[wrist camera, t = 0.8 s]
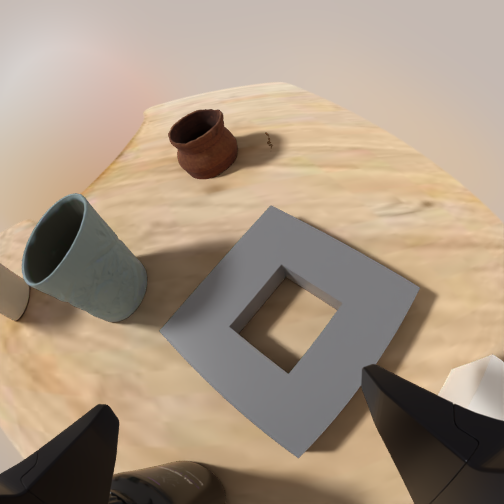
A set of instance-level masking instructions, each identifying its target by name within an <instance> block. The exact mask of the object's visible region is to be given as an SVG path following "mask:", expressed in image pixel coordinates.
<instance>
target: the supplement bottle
mask: <svg viewBox="0 0 504 504" xmlns="http://www.w3.org/2000/svg"><path fill="white" fill-rule="evenodd" d="M225 502H226V495H225V490H224V488H223V485H222V484H221V482H220V480H219V479H218V478H217V477H216V476H215V475H214V474H213V473H212V472H211V471H210V470H208V469H207V468H205V467H204V466H202V465H199V464H197V463H194V462H189V461H176V462H171V463H167V464H163V465H158V466H154V467H149V468H145V469H139V470H134V471H128V472H122V473H118V474H114V475H113V478H112V484H111V491H110V497H109V504H225Z"/></svg>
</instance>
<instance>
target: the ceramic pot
mask: <svg viewBox="0 0 504 504" xmlns="http://www.w3.org/2000/svg"><path fill="white" fill-rule="evenodd" d="M265 134H266V135H268V134H267V133H265ZM268 136H269V135H268ZM168 137H169V140H170V142H171V144H172V145H173V146H175V147H176V148H177V149H178V152H177V157H178V161H179V164H180V165H181V167H182V168H183V169H184V170H186V171H187V172H188V173H189V174H190V175H191V176H192V177H194V178H197V179H209V178H213V177H215V176H217V175H219V174H220V173H222V172H223V171H225V170H226V169H227V168H229V167H230V166H231V165H232V163H233V162H234V161H235V159H236V157H237V150H238V148H237V142H236V139H235V137H234V136H233V135H232V133H231V132H230V131H229V130H228V129H227V128H225V127H224V121H223V113H222V112H221V111H220V110H212V109H209V110H206V109H205V110H197V111H194V112H192V113H190V114H188V115H186V116H185V117H183V118H181V119H180V120H179V121H178V122H177V123H175V124H174V125H173V126H172V127H171V130H170V132H169V133H168ZM268 140H269V141H268V142H267V144H270V143H271V142H270V138H268ZM269 146H271V148H272V145H271V144H270V145H269Z"/></svg>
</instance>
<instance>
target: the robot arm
mask: <svg viewBox="0 0 504 504" xmlns="http://www.w3.org/2000/svg"><path fill="white" fill-rule="evenodd" d="M361 387H362V391H363V393H364V396H365V399H366V401H367V404H368V407H369V410H370V412H371V415H372V418H373V421H374V423H375V426H376V428H377V430H378V432H379V434H380V436H381V438H382V440H383V441H384V443H385V445H386V447H387V449H388V451H389V453H390V455H391V457H392V459H393V461H394V463H395V465H396V467H397V469H398V471H399V473H400V475H401V477H402V479H403V481H404V483H405V485H406V487H407V489H408V491H409V493H410V496H411V498H412V500H413V502H414V504H504V421H503V420H499V419H495V418H492V417H488V416H485V415H482V414H479V413H476V412H474V411H471V410H469V409H466V408H464V407H462V406H460V405H457V404H453V402H451V401H449V400H446V399H444V398H442V397H440V396H438V395H436V394H434V393H432V392H430V391H428V390H426V389H424V388H421V387H419V386H417V385H415V384H413V383H411V382H409V381H407V380H405V379H403V378H401V377H399V376H397V375H395V374H394V373H392V372H390V371H388V370H386V369H384V368H382V367H380V366H378V365H376V364H371V365H368V366H365V367H363V368H362V379H361ZM118 433H119V420H118V418H117V416H116V415H115V414H114V412H113V411H112V409H111V408H110V407H109V406H108V405H106V404H98V405H96V406H95V407H94V408H93V409H91V410H90V411H89V412H87V413H86V414H85V415H84V416H82V417H81V418H80V419H78V420H77V421H76V422H74V423H73V424H72V425H71V426H69V427H68V428H67V429H65V430H64V431H63V432H61V433H60V434H59V435H57V436H56V437H55V438H53V439H52V440H51V441H49V442H48V443H47V444H45V445H44V446H43V447H41V448H40V449H39V450H37V451H36V452H35V453H33V454H32V455H30V456H29V457H28V458H26V459H25V460H23V461H22V462H20V463H18V464H17V465H15V466H13V467H12V468H10V469H8V470H6V471H4V472H3V473H1V474H0V504H109V497H110V491H111V484H112V478H113V472H114V467H115V461H116V454H117V443H118Z"/></svg>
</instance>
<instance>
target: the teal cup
mask: <svg viewBox="0 0 504 504" xmlns="http://www.w3.org/2000/svg"><path fill="white" fill-rule="evenodd" d="M22 273H23V278H24V280H25V282H26V283H27V284H28V285H30V286H31V287H33V288H35V289H37V290H39V291H41V292H44V293H46V294H48V295H50V296H53V297H55V298H56V299H58V300H60V301H63V302H69V303H70V304H71V305H73V306H74V307H78V308H81V309H82V310H85V311H87V312H88V313H89V314H91V315H93V316H95V317H98V318H100V319H103V320H105V321H108V322H118V321H121V320H124V319H126V318H127V317H129V316H130V315H131V314H132V313H133V312H134V311H135V310H136V309H137V308H138V306H139V305H140V303H141V302H142V299H143V297H144V295H145V292H146V287H147V274H146V270H145V268H144V266H143V265H142V263H141V262H140V261H139V260H138V259H137V258H136V257H135V256H134V255H133V254H132V252H131V251H130V250H129V249H128V248H127V247H126V245H125V244H124V243H123V242H122V241H121V240H119V239H118V237H117V235H116V234H115V233H114V232H113V230H112V229H111V228H110V227H109V226H108V225H107V224H106V222H105V221H104V220H103V219H102V218H101V217H100V216H99V214H98V213H97V212H96V211H95V210H94V208H93V207H92V206H91V205H90V203H89V202H88V201H87V200H86V198H85V197H84V196H82V195H81V194H77V193H75V194H70V195H67V196H65V197H63V198H62V199H60V200H59V201H57V202H56V203H55V204H54V205H53V206H52V207H51V208H50V209H49V210H48V211H47V212H46V213H45V214H44V215H43V217H42V218H41V219H40V221H39V222H38V223H37V225H36V227H35V228H34V230H33V232H32V234H31V236H30V238H29V240H28V242H27V244H26V247H25V250H24V254H23V259H22Z"/></svg>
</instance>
